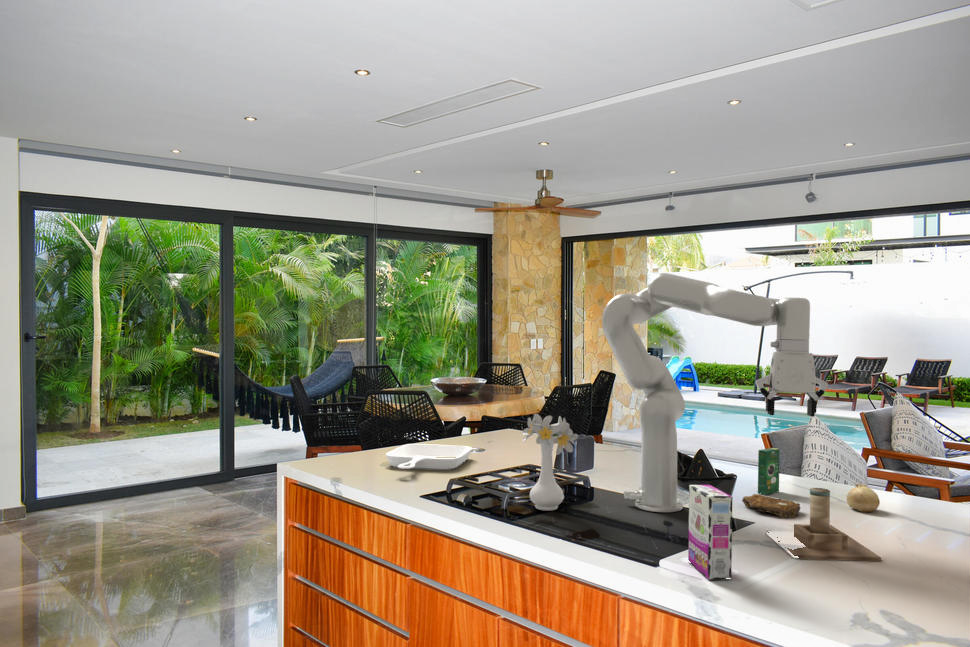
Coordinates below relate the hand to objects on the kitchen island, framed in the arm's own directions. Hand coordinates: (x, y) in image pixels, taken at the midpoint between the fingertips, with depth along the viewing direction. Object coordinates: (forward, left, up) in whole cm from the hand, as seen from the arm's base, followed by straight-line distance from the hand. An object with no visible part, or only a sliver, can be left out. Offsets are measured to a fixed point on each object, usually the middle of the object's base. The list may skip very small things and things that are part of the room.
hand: (790, 415), depth 176 cm
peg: (0, -17, -27) cm, 32 cm away
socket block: (0, -17, -27) cm, 33 cm away
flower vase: (-60, +11, -28) cm, 67 cm away
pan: (-102, +62, -28) cm, 123 cm away
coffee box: (+6, +35, -28) cm, 45 cm away
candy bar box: (-29, -35, -28) cm, 53 cm away
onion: (+25, +16, -28) cm, 41 cm away
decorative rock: (-1, +13, -28) cm, 31 cm away
